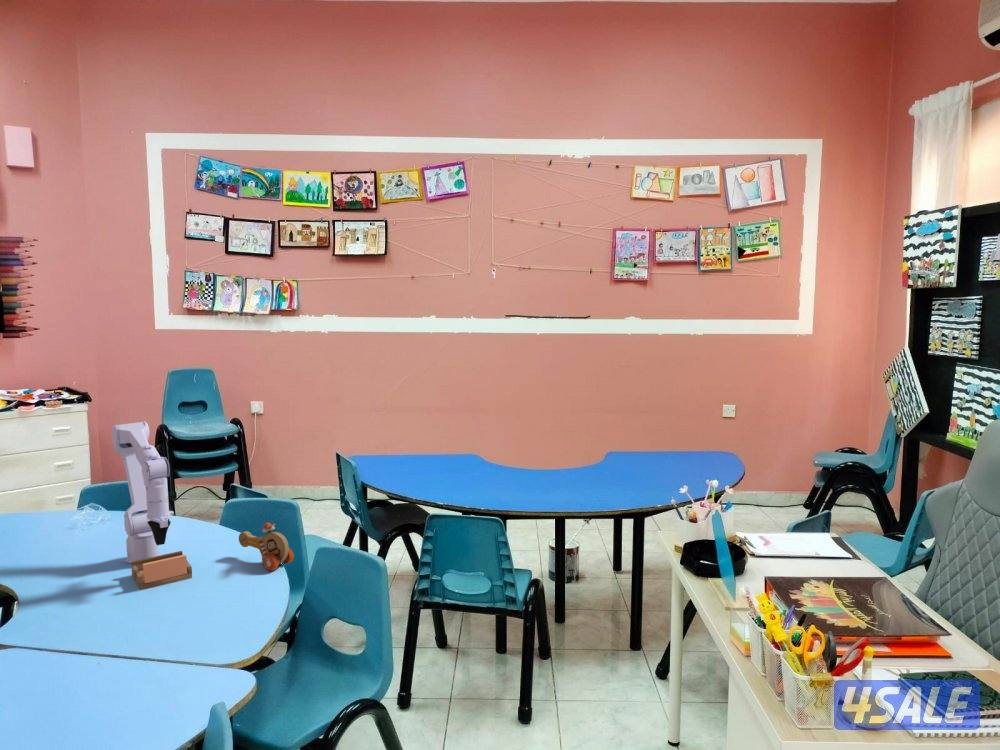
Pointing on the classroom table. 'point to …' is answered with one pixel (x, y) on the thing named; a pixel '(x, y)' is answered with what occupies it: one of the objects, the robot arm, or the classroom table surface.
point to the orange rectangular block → (164, 568)
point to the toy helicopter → (269, 546)
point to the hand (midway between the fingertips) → (160, 544)
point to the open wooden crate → (139, 579)
